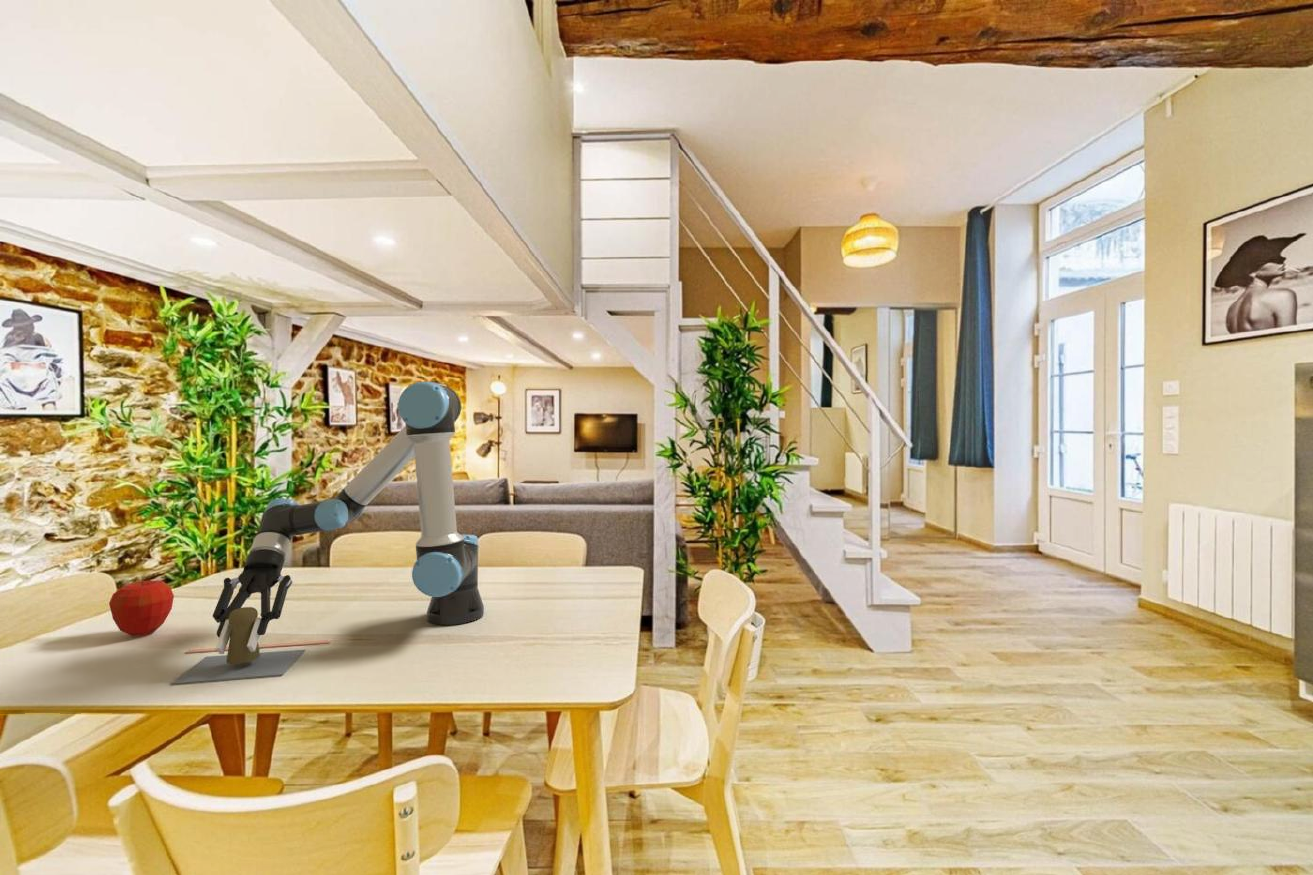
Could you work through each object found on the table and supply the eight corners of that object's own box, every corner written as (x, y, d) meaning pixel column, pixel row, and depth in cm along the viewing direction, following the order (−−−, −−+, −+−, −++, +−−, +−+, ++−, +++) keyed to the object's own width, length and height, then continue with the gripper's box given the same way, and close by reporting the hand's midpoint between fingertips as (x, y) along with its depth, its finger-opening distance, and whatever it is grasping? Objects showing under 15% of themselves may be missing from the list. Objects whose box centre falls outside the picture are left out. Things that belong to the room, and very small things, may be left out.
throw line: (331, 641, 141) (331, 639, 141) (329, 643, 140) (329, 642, 140) (188, 651, 134) (188, 649, 134) (184, 653, 132) (184, 652, 132)
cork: (237, 653, 128) (237, 604, 128) (266, 652, 129) (266, 604, 129) (219, 664, 122) (219, 613, 122) (249, 663, 123) (249, 612, 123)
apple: (107, 634, 144) (107, 578, 144) (169, 622, 153) (169, 570, 153) (111, 647, 136) (111, 587, 135) (177, 634, 144) (177, 578, 144)
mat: (304, 651, 135) (305, 649, 135) (282, 675, 121) (282, 674, 121) (205, 658, 130) (205, 656, 130) (170, 685, 116) (170, 683, 116)
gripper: (313, 563, 142) (288, 654, 127) (228, 566, 138) (192, 661, 122) (305, 545, 137) (278, 638, 121) (218, 548, 133) (178, 645, 117)
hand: (235, 649), depth 122 cm, fingers closed on cork, 5 cm apart
